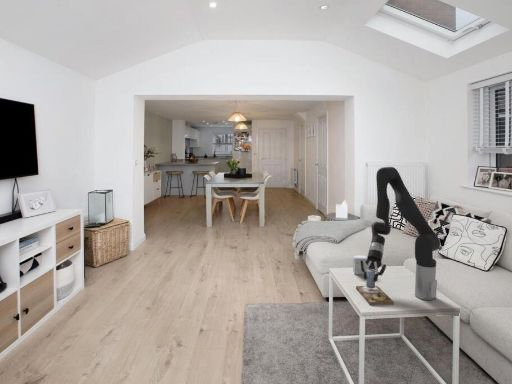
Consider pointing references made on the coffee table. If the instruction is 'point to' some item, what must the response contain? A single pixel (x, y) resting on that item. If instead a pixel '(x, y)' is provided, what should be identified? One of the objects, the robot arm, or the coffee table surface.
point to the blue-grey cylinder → (370, 278)
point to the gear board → (374, 295)
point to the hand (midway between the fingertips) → (369, 280)
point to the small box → (358, 264)
